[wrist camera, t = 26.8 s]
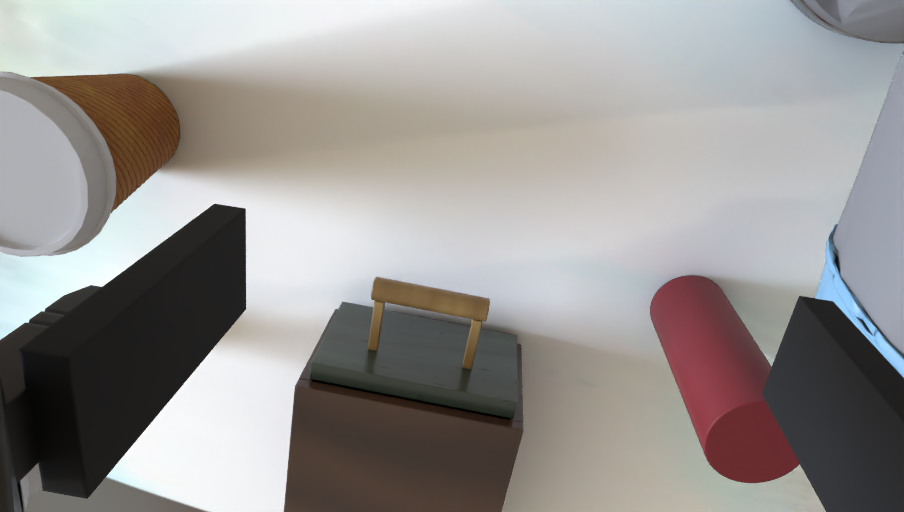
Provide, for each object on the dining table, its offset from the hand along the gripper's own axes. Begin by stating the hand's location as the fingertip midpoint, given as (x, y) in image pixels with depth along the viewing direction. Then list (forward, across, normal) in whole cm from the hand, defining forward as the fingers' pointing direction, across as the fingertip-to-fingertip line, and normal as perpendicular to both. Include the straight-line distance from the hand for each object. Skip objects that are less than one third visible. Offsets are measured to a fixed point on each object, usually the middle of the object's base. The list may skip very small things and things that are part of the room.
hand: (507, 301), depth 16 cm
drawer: (+26, -4, -22) cm, 34 cm away
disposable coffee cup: (+26, -25, -5) cm, 36 cm away
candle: (+27, +14, -12) cm, 33 cm away
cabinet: (+27, -4, -26) cm, 37 cm away
